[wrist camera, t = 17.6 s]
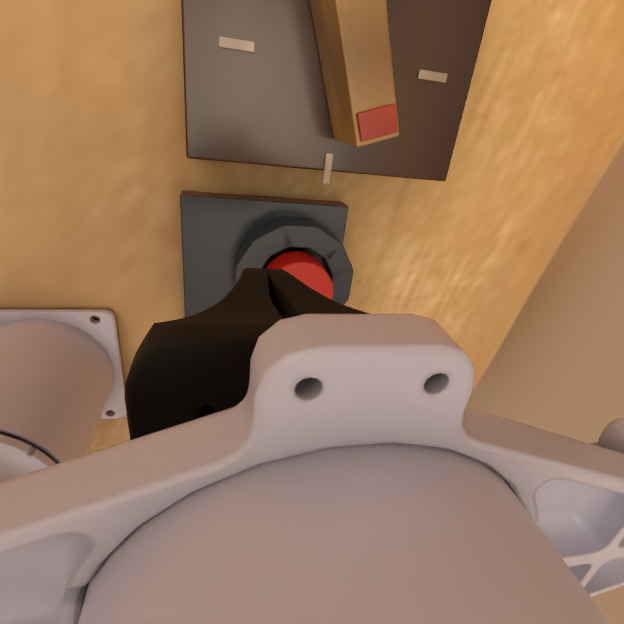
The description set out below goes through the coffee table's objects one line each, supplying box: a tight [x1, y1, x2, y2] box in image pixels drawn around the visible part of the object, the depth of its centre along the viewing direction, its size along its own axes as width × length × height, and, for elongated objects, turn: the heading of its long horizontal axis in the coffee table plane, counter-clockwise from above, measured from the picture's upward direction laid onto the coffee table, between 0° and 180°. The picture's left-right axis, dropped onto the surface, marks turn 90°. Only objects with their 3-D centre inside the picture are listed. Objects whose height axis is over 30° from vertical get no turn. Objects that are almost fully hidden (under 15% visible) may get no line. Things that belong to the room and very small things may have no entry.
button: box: [266, 251, 333, 300], centre depth 21 cm, size 4×4×2 cm
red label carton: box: [309, 0, 399, 147], centre depth 15 cm, size 6×2×4 cm, turn 13°
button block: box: [180, 191, 353, 317], centre depth 22 cm, size 9×8×3 cm
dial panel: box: [181, 0, 492, 184], centre depth 18 cm, size 13×10×3 cm
